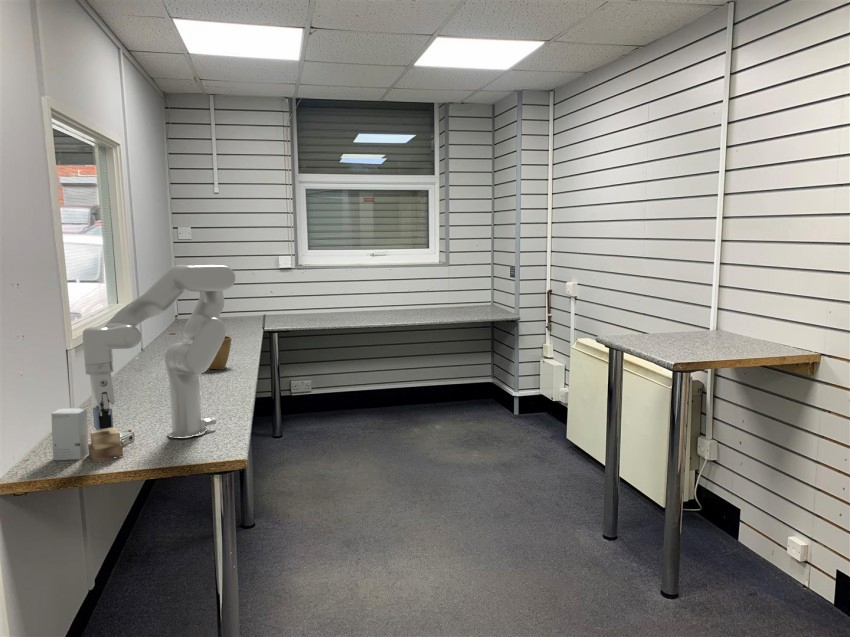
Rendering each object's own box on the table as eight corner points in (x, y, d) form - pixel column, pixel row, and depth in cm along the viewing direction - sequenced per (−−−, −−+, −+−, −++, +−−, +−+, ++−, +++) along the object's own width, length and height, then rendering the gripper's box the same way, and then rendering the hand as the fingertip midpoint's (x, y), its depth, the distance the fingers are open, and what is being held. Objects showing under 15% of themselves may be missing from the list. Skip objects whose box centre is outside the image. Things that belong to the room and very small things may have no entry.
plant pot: (227, 371, 298) (225, 340, 296) (197, 371, 298) (196, 340, 296) (236, 365, 313) (235, 335, 311) (208, 365, 313) (206, 335, 311)
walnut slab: (117, 450, 190) (116, 438, 189) (123, 457, 183) (122, 445, 183) (89, 456, 185) (88, 443, 184) (94, 463, 179) (92, 451, 178)
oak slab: (116, 439, 188) (115, 427, 188) (120, 445, 183) (119, 432, 182) (91, 443, 184) (90, 431, 184) (95, 450, 179) (93, 437, 178)
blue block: (110, 423, 186) (109, 405, 185) (113, 427, 182) (111, 408, 181) (94, 426, 183) (92, 407, 182) (96, 430, 179) (95, 411, 179)
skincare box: (53, 461, 180) (48, 413, 178) (62, 454, 186) (58, 408, 184) (82, 459, 181) (78, 412, 179) (91, 452, 187) (87, 406, 185)
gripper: (118, 370, 176) (123, 430, 178) (107, 361, 189) (112, 417, 191) (90, 374, 171) (95, 435, 174) (80, 364, 184) (85, 421, 187)
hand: (104, 425), depth 183 cm, fingers closed on blue block, 4 cm apart
